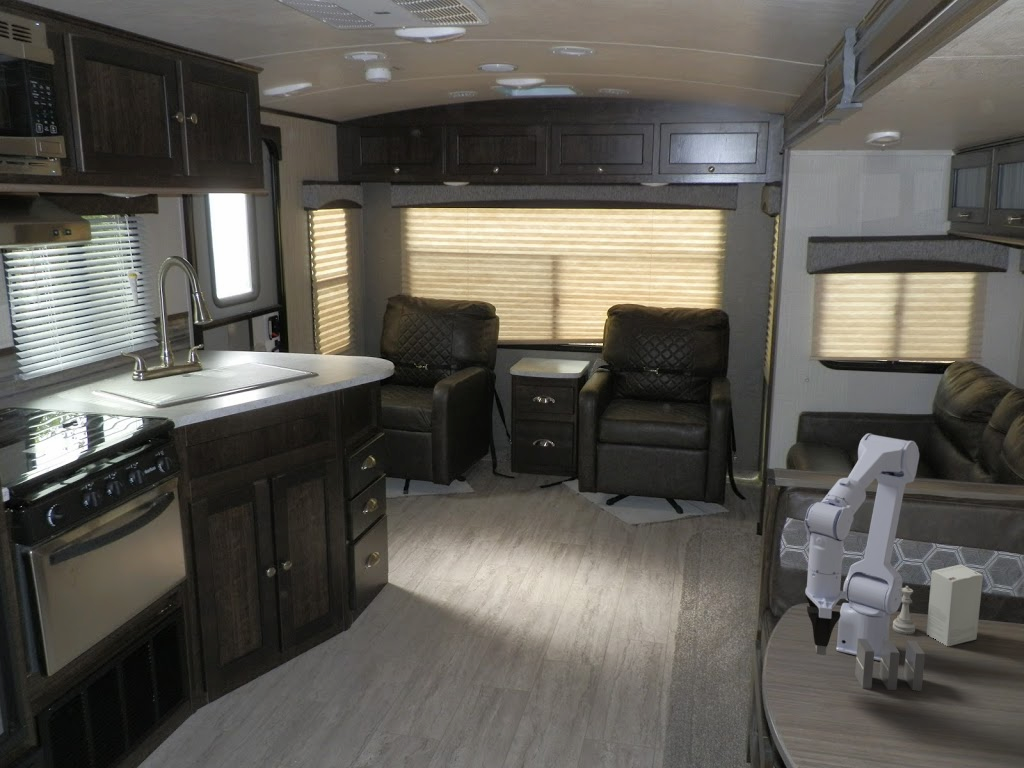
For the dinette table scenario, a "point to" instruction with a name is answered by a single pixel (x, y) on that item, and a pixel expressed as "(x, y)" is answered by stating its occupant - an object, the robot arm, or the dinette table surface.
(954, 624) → the skincare box
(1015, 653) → the dinette table surface
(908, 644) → the domino
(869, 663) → the domino
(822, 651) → the domino
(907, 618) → the chess piece
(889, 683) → the domino
